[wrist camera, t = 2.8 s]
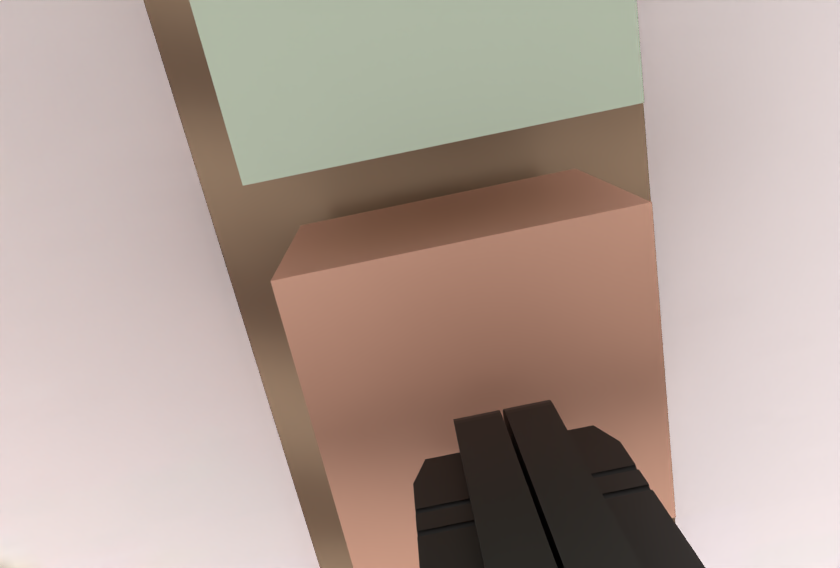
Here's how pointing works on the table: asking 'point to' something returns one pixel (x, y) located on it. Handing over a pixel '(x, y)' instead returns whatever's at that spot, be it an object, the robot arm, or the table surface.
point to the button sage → (406, 73)
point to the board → (346, 195)
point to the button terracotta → (472, 335)
